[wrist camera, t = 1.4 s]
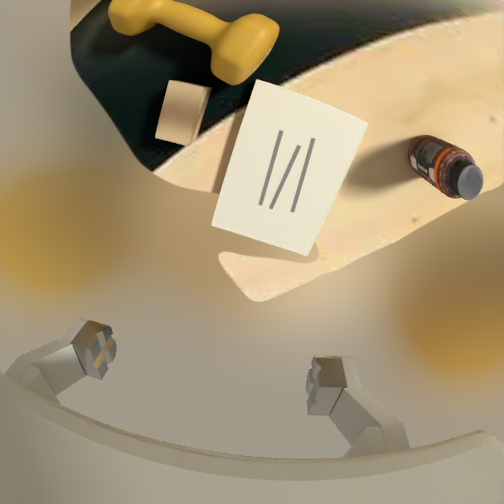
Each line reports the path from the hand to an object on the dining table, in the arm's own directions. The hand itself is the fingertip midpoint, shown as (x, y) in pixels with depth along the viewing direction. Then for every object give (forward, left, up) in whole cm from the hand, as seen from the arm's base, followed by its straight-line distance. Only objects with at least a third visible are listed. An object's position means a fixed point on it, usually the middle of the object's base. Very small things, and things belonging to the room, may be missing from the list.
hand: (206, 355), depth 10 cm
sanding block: (-4, -10, -29) cm, 31 cm away
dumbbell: (-15, -12, -29) cm, 35 cm away
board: (0, +4, -29) cm, 29 cm away
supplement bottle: (-10, +21, -29) cm, 37 cm away
